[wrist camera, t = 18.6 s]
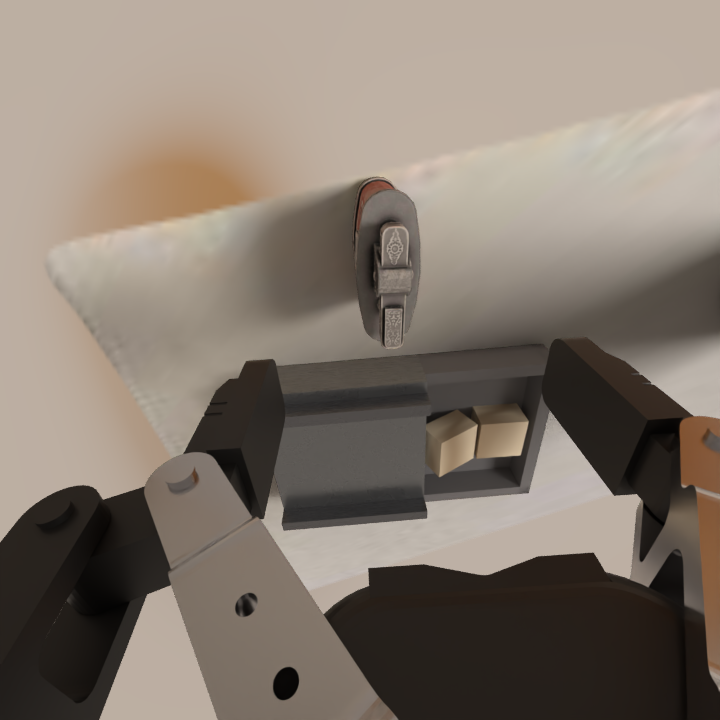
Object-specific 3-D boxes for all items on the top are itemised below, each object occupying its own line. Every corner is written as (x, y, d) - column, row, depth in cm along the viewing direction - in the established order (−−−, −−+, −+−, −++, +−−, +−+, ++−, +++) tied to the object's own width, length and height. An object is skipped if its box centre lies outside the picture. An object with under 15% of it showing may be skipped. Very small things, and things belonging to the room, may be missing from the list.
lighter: (350, 177, 23) (356, 198, 15) (402, 175, 24) (438, 196, 15) (353, 296, 28) (359, 366, 19) (398, 294, 28) (424, 363, 19)
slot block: (417, 354, 30) (431, 393, 26) (416, 477, 38) (426, 525, 34) (262, 367, 30) (248, 409, 26) (292, 488, 38) (285, 537, 33)
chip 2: (481, 424, 31) (472, 406, 33) (476, 458, 33) (468, 439, 35) (528, 421, 31) (516, 403, 33) (520, 455, 33) (509, 436, 35)
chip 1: (457, 409, 33) (477, 424, 31) (454, 441, 35) (473, 458, 33) (422, 426, 31) (441, 443, 30) (421, 459, 34) (439, 477, 32)
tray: (542, 344, 30) (561, 362, 28) (515, 469, 38) (528, 493, 36) (417, 354, 30) (424, 374, 28) (416, 477, 38) (421, 502, 36)
